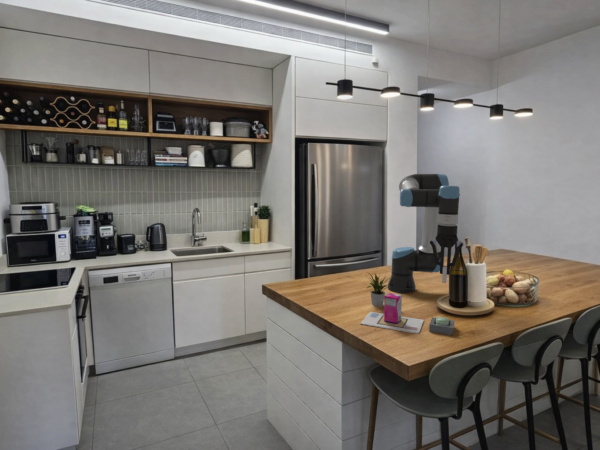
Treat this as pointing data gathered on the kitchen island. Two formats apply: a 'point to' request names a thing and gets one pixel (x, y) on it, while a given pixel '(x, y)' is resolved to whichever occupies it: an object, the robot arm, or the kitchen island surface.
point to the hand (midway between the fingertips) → (444, 281)
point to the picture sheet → (404, 325)
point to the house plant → (377, 291)
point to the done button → (442, 321)
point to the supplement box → (392, 308)
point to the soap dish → (441, 327)
